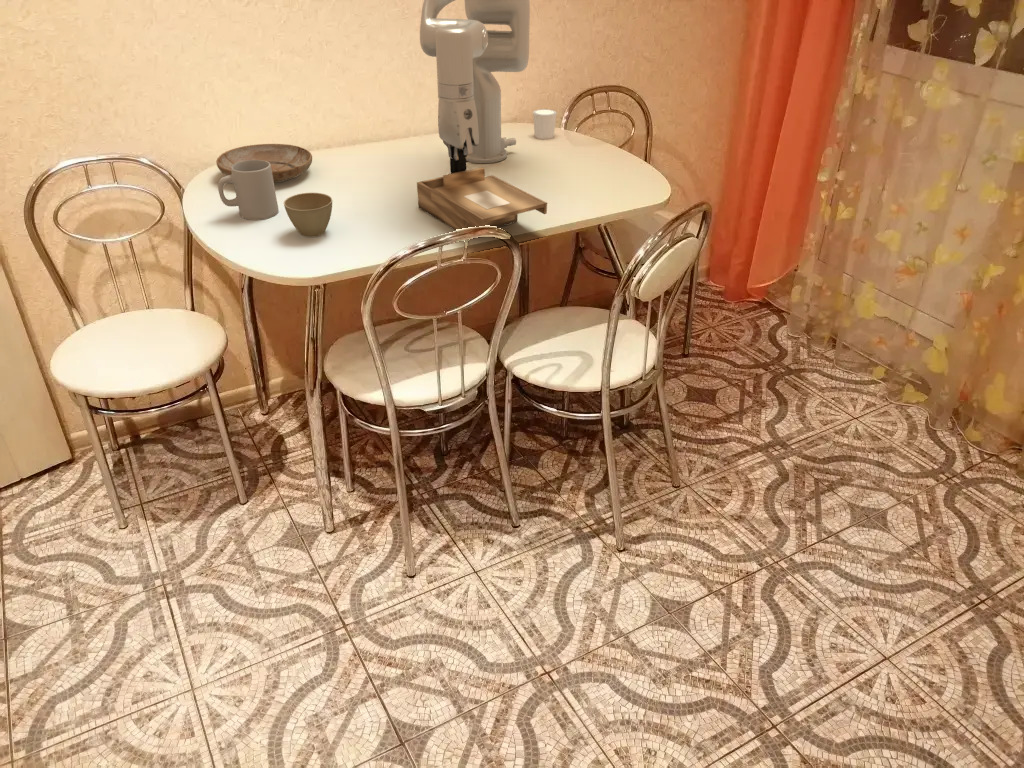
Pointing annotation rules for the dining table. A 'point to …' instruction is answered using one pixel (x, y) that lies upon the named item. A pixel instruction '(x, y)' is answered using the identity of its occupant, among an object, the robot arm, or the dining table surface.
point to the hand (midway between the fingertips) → (458, 175)
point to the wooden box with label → (483, 197)
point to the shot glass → (544, 123)
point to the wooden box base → (446, 215)
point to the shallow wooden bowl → (269, 159)
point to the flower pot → (309, 212)
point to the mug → (251, 189)
